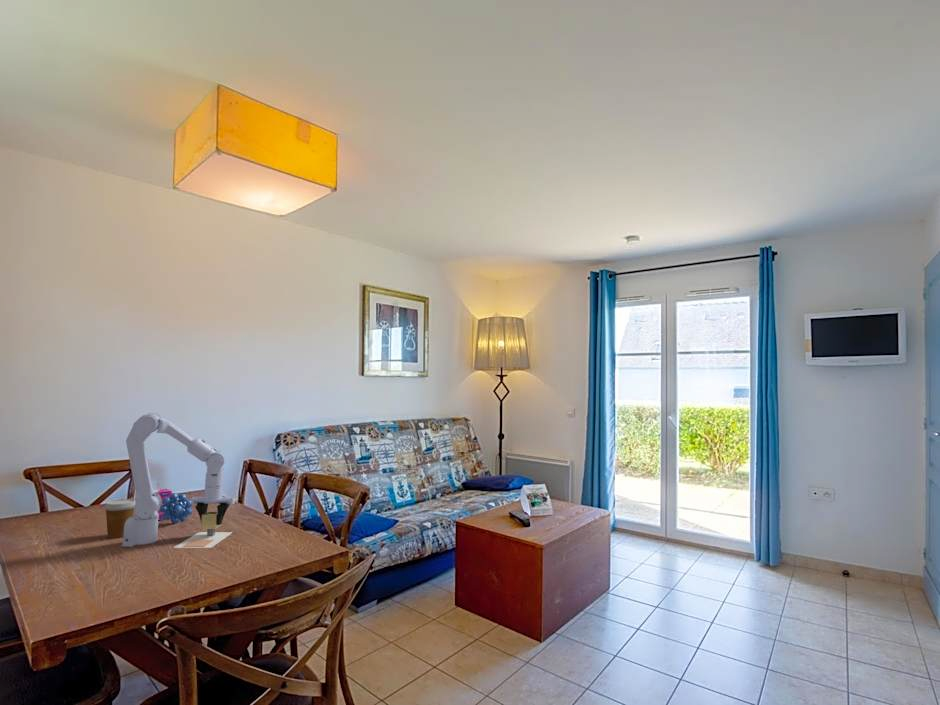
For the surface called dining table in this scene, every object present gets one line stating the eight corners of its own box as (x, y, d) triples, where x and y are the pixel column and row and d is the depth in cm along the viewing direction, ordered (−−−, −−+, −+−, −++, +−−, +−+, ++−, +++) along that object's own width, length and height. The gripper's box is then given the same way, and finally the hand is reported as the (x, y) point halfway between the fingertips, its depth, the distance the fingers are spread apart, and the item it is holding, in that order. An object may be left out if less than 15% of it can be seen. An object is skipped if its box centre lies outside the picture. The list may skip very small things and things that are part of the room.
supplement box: (154, 521, 199) (156, 492, 200) (148, 519, 203) (150, 490, 204) (170, 519, 204) (172, 490, 205) (164, 516, 207) (166, 488, 208)
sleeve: (200, 529, 178) (201, 514, 178) (207, 525, 183) (208, 511, 183) (215, 529, 178) (216, 514, 179) (221, 525, 183) (222, 511, 184)
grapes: (160, 528, 191) (163, 496, 191) (157, 524, 196) (159, 493, 196) (195, 523, 198) (196, 492, 199) (190, 519, 203) (192, 489, 204)
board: (173, 550, 166) (174, 536, 166) (198, 534, 184) (199, 522, 184) (210, 550, 167) (211, 536, 167) (232, 534, 185) (233, 522, 185)
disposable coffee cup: (95, 537, 177) (98, 503, 178) (121, 530, 186) (123, 497, 187) (115, 540, 174) (118, 505, 175) (140, 533, 183) (143, 500, 184)
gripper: (238, 483, 186) (236, 521, 185) (198, 483, 185) (196, 521, 184) (231, 487, 179) (228, 526, 178) (189, 487, 178) (186, 526, 177)
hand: (211, 524), depth 181 cm, fingers closed on sleeve, 5 cm apart
